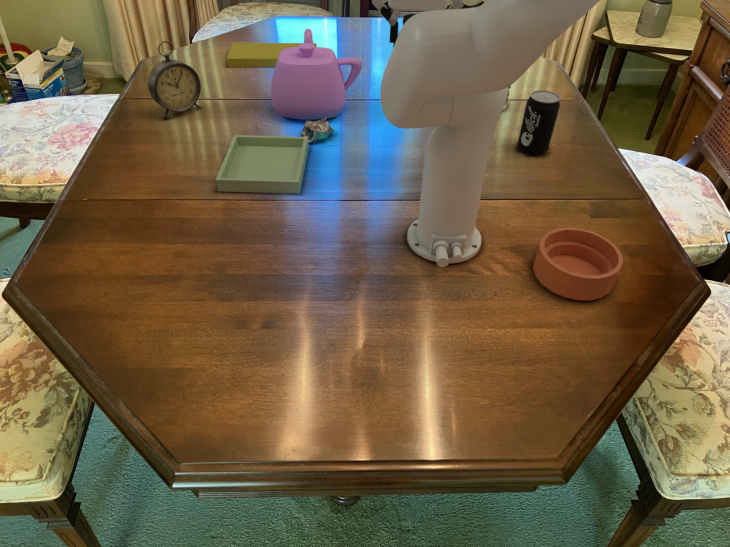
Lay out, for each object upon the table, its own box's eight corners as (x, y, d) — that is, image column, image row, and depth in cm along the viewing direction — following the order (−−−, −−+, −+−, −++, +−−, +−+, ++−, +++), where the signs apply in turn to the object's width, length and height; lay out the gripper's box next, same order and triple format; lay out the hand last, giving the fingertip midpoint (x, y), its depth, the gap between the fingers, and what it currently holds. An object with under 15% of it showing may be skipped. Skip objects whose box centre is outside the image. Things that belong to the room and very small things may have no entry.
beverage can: (548, 158, 116) (563, 104, 108) (516, 154, 117) (529, 101, 109) (547, 143, 121) (561, 91, 113) (516, 140, 122) (528, 87, 114)
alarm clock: (163, 123, 125) (145, 50, 114) (152, 114, 128) (134, 43, 117) (206, 109, 130) (193, 39, 119) (195, 101, 133) (181, 32, 122)
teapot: (362, 125, 126) (363, 59, 116) (269, 125, 125) (262, 58, 115) (359, 84, 143) (360, 24, 133) (278, 84, 142) (272, 23, 132)
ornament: (319, 125, 125) (319, 110, 123) (340, 136, 122) (340, 120, 119) (292, 136, 121) (291, 121, 119) (312, 148, 118) (312, 132, 115)
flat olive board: (227, 66, 150) (316, 66, 151) (226, 58, 149) (315, 58, 150) (233, 50, 159) (316, 50, 160) (232, 42, 158) (316, 43, 159)
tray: (299, 193, 104) (298, 182, 103) (217, 191, 104) (215, 179, 103) (308, 147, 118) (308, 136, 116) (235, 145, 118) (234, 134, 116)
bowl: (623, 303, 84) (634, 279, 80) (542, 301, 84) (550, 276, 81) (599, 251, 93) (608, 228, 90) (525, 249, 93) (532, 226, 90)
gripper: (366, -66, 84) (364, 53, 96) (480, -63, 84) (464, 57, 96) (369, -76, 90) (366, 38, 102) (475, -72, 89) (460, 42, 101)
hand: (414, 46), depth 98 cm, fingers closed on pill bottle, 6 cm apart
